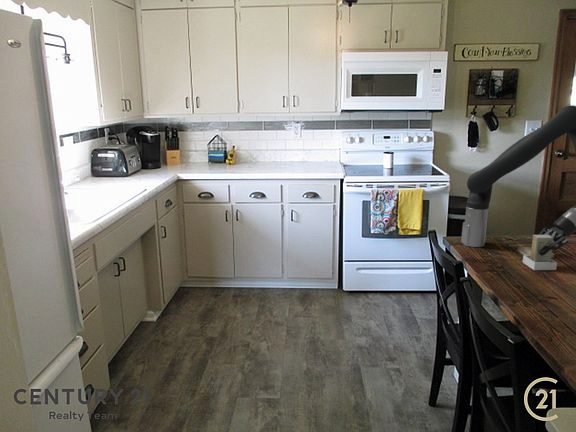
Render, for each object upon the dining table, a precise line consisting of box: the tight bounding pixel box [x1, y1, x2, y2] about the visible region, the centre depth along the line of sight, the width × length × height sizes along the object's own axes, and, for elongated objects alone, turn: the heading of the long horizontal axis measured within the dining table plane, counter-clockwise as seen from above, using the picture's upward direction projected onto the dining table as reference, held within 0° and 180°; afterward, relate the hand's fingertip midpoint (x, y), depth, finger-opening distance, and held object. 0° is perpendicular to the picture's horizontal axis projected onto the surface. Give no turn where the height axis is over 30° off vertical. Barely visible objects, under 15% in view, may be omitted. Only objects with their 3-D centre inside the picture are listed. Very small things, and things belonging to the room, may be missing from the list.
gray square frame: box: [522, 254, 558, 271], centre depth 193 cm, size 9×9×3 cm
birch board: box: [517, 246, 555, 259], centre depth 207 cm, size 11×9×2 cm
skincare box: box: [530, 234, 553, 263], centre depth 192 cm, size 6×4×12 cm
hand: (536, 251), depth 192 cm, fingers closed on skincare box, 4 cm apart
